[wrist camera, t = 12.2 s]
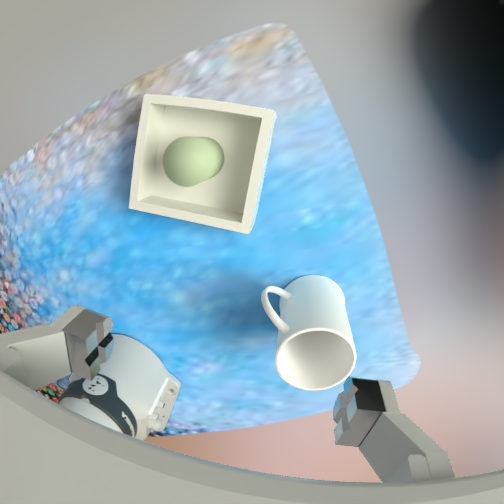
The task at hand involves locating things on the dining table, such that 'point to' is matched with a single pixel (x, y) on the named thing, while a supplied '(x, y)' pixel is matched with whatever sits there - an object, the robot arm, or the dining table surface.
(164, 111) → the bin
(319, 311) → the mug
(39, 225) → the dining table surface
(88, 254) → the dining table surface
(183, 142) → the pale green rounded piece
